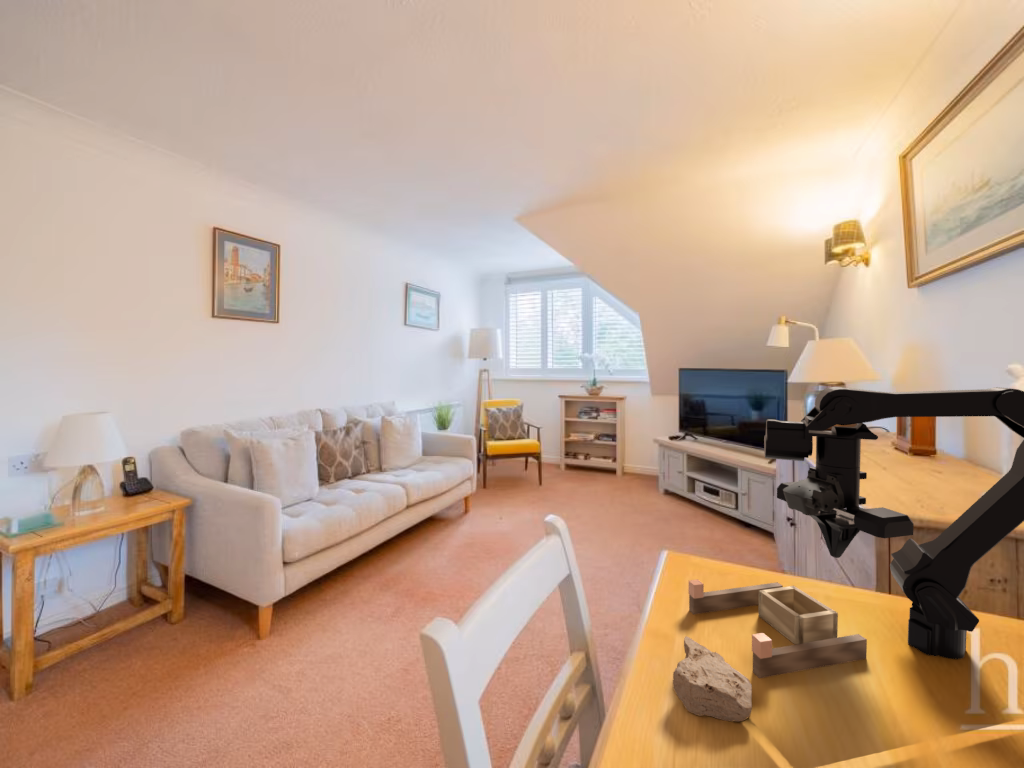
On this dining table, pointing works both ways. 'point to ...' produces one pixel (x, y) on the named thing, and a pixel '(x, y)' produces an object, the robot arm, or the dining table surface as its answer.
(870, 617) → the dining table surface
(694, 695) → the stone
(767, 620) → the box
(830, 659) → the bay
